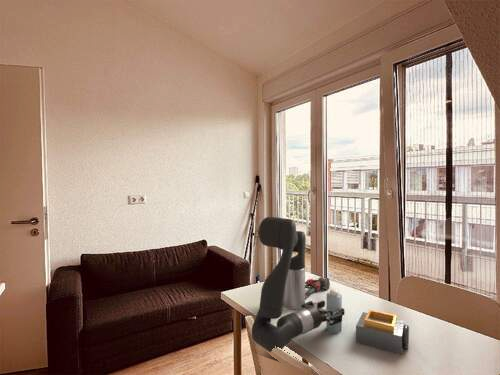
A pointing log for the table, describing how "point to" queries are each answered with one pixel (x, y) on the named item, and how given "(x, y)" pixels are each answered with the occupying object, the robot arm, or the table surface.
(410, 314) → the table surface
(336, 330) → the light blue bottle
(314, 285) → the valve
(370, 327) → the gold-trimmed base block
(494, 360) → the table surface
